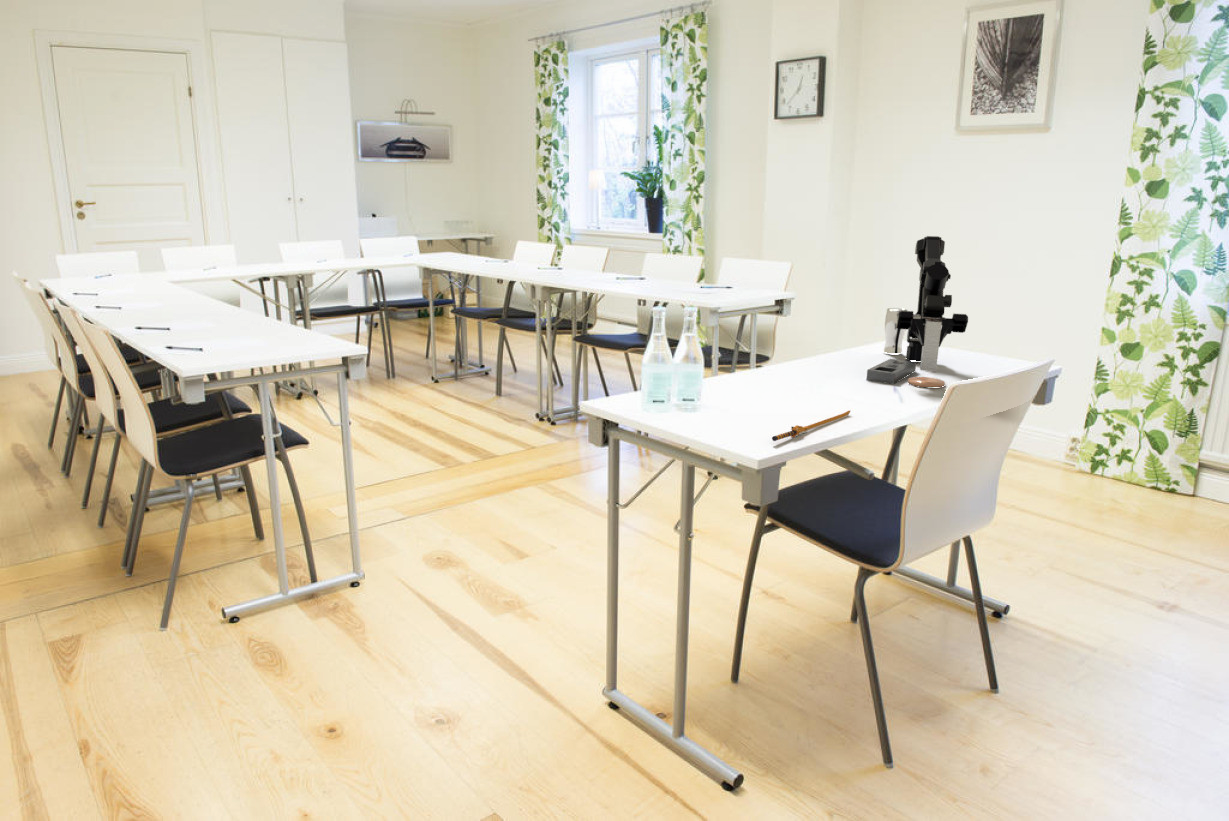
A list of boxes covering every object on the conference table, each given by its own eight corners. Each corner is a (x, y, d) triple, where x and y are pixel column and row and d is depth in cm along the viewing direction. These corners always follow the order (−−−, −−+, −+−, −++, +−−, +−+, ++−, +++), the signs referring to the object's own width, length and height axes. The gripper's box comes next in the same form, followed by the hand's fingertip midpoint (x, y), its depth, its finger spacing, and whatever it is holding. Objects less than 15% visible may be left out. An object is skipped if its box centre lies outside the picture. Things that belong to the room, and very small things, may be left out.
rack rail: (889, 368, 266) (890, 358, 266) (915, 371, 262) (916, 361, 261) (866, 379, 250) (867, 369, 249) (893, 383, 246) (894, 373, 245)
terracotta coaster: (935, 380, 251) (936, 377, 251) (950, 388, 242) (951, 385, 241) (902, 380, 251) (902, 376, 250) (916, 388, 241) (916, 384, 241)
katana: (851, 420, 212) (852, 409, 212) (776, 444, 187) (777, 432, 186) (846, 419, 213) (847, 408, 212) (771, 443, 188) (772, 431, 187)
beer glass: (900, 352, 292) (905, 308, 288) (905, 356, 285) (910, 311, 281) (879, 351, 292) (884, 307, 289) (884, 355, 286) (888, 310, 282)
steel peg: (920, 367, 247) (925, 319, 244) (934, 368, 246) (940, 320, 243) (920, 370, 244) (926, 321, 240) (935, 371, 243) (941, 322, 239)
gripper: (902, 282, 245) (899, 327, 237) (971, 285, 240) (971, 331, 233) (897, 306, 254) (895, 349, 247) (964, 309, 249) (964, 354, 242)
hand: (931, 345), depth 242 cm, fingers closed on steel peg, 4 cm apart
